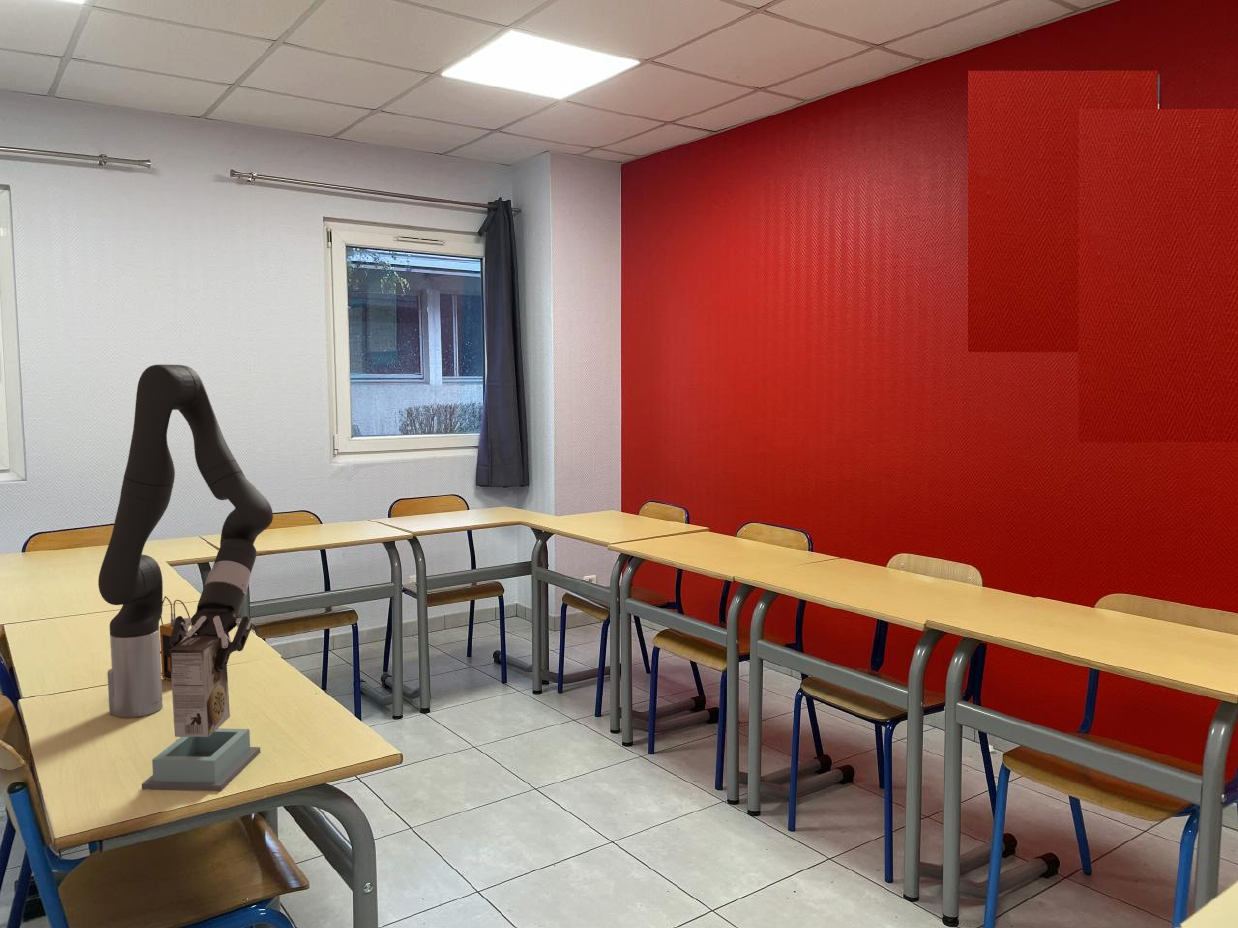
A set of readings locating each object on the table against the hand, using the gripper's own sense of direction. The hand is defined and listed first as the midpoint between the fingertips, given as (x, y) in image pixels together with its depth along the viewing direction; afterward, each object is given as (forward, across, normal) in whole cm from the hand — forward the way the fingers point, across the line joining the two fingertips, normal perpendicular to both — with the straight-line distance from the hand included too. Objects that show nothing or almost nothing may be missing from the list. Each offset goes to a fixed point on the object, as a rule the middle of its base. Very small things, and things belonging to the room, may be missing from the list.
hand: (197, 670), depth 162 cm
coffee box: (+7, 0, +8) cm, 11 cm away
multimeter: (-22, -28, +49) cm, 61 cm away
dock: (+13, 0, +14) cm, 19 cm away
